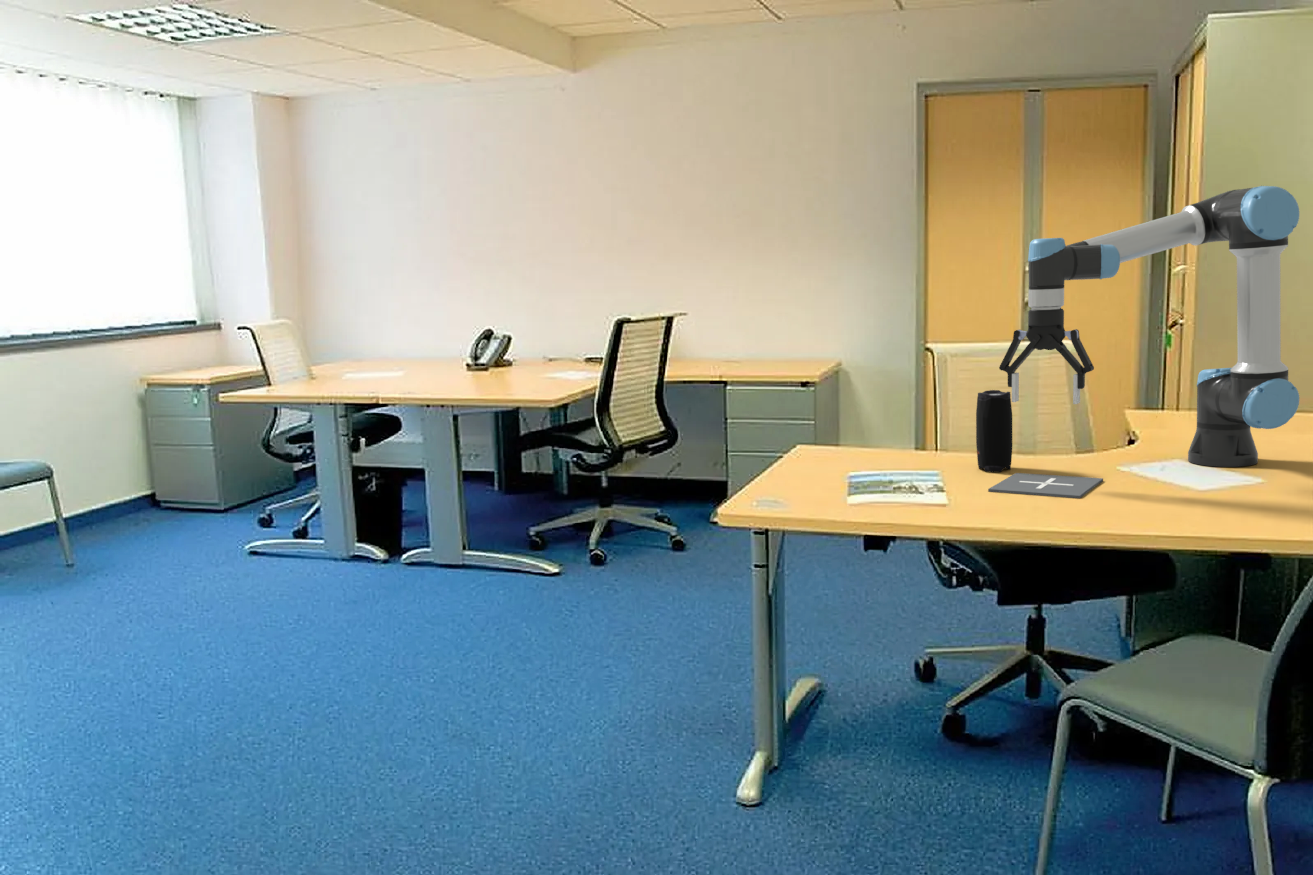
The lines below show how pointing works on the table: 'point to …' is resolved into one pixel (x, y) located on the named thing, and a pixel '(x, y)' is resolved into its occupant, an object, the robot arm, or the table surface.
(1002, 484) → the pad
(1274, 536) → the table surface
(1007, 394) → the portable speaker
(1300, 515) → the table surface
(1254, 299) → the robot arm
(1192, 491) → the table surface
